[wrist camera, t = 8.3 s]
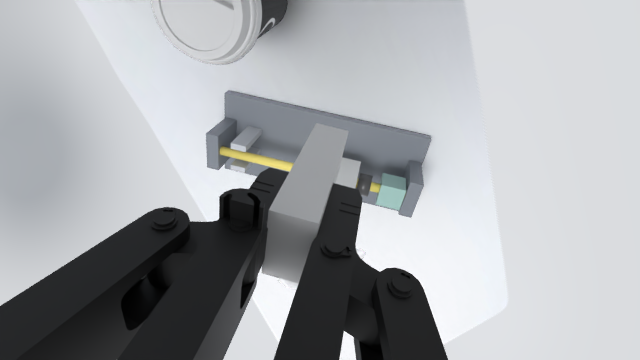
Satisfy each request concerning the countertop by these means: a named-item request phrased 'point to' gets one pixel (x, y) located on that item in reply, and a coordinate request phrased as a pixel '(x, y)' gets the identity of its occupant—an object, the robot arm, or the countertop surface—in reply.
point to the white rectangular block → (348, 172)
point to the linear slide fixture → (292, 133)
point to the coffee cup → (216, 26)
